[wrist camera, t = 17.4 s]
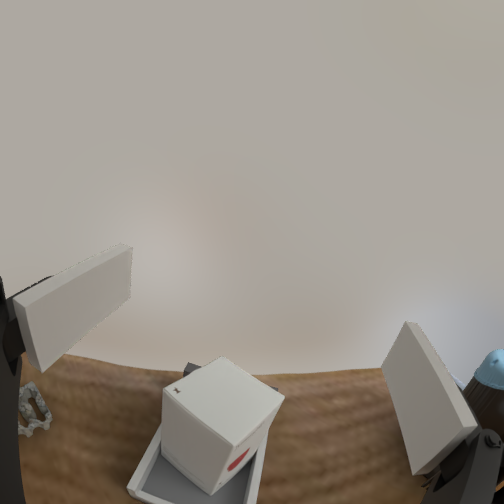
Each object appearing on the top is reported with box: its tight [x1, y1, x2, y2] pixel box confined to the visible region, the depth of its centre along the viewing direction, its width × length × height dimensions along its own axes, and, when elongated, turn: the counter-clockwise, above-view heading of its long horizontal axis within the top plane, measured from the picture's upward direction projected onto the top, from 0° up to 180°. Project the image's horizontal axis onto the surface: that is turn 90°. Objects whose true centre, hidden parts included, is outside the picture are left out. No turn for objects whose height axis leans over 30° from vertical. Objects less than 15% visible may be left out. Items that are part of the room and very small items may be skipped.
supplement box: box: [161, 356, 285, 495], centre depth 26 cm, size 9×9×15 cm
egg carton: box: [18, 381, 53, 437], centre depth 21 cm, size 11×8×4 cm
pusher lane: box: [127, 362, 278, 504], centre depth 28 cm, size 22×14×7 cm, turn 171°
